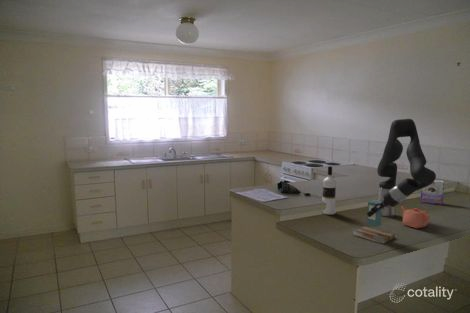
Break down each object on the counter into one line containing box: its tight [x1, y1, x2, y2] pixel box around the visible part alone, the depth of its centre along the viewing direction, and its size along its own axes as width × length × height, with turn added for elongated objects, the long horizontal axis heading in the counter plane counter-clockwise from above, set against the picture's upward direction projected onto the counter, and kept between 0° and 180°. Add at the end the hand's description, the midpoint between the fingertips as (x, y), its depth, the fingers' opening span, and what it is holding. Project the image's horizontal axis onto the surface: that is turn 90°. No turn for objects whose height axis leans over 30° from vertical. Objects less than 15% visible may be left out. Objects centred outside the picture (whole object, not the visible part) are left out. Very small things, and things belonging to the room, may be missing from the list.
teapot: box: [400, 205, 431, 229], centre depth 195 cm, size 12×18×10 cm, turn 29°
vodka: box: [321, 166, 337, 216], centre depth 217 cm, size 9×9×30 cm
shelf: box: [352, 225, 396, 244], centre depth 177 cm, size 13×16×3 cm
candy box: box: [419, 179, 445, 206], centre depth 245 cm, size 14×6×16 cm, turn 58°
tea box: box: [366, 199, 382, 228], centre depth 175 cm, size 5×5×12 cm
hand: (370, 214), depth 177 cm, fingers closed on tea box, 5 cm apart
